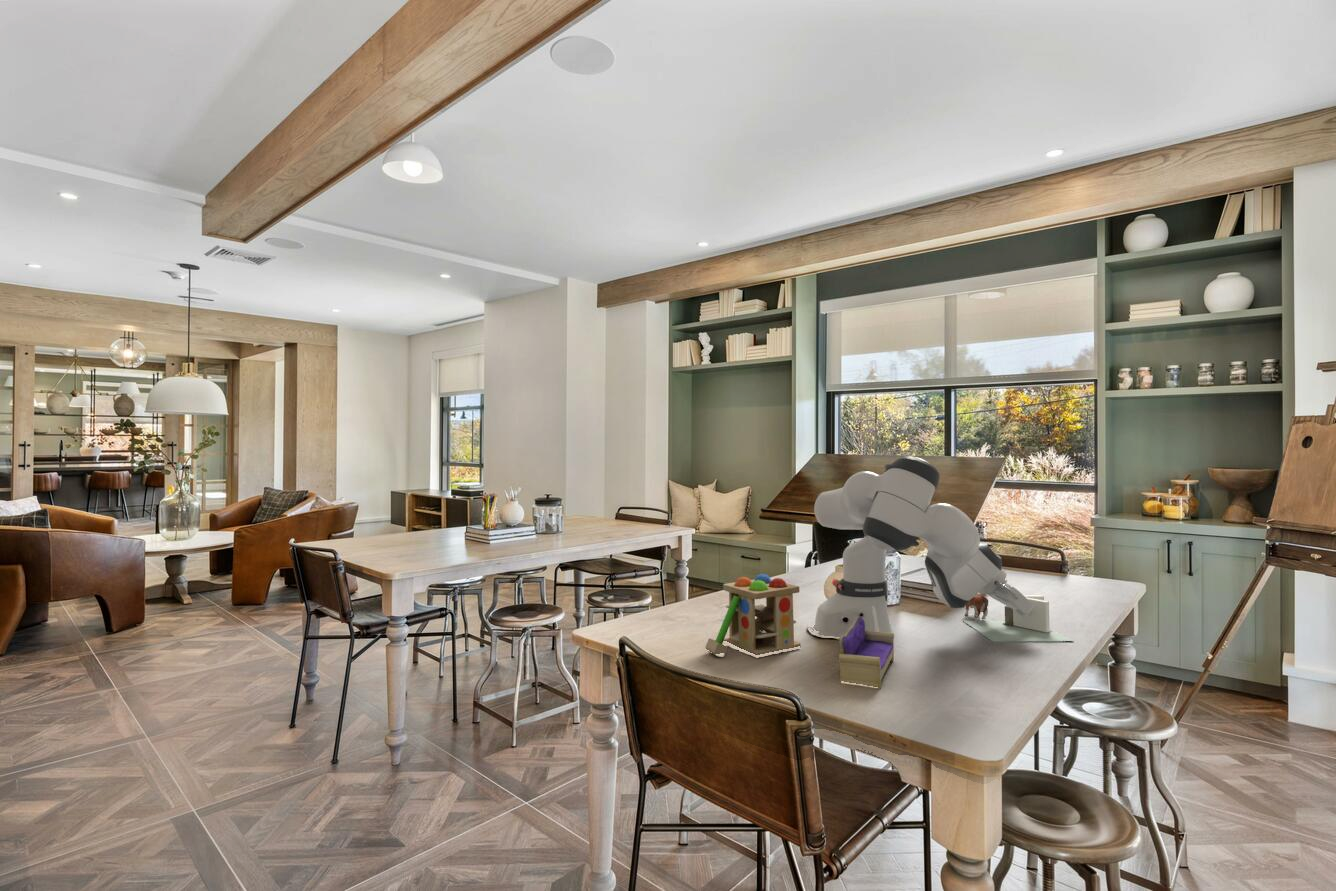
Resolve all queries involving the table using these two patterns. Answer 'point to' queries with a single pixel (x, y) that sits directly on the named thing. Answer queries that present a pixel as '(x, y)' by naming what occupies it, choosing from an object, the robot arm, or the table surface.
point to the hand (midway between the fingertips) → (1025, 614)
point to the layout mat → (1014, 632)
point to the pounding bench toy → (769, 618)
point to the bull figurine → (978, 606)
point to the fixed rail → (1010, 611)
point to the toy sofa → (865, 654)
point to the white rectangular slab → (1034, 616)
